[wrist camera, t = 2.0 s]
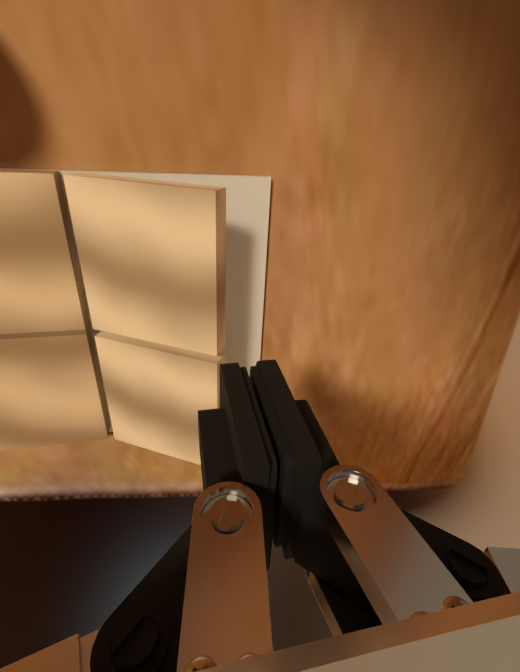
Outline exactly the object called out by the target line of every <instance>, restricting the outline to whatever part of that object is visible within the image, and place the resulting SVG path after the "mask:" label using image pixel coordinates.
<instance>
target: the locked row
mask: <svg viewBox="0 0 520 672" xmlns="http://www.w3.org/2000/svg"><path fill="white" fill-rule="evenodd" d="M109 430H110V424H109V419H108V414H107V409H106V404H105V399H104V394H103V389H102V384H101V379H100V374H99V369H98V364H97V359H96V354H95V349H94V344H93V339H92V334H91V329H90V324H89V319H88V314H87V309H86V304H85V299H84V294H83V289H82V284H81V278H80V273H79V268H78V263H77V258H76V253H75V248H74V243H73V238H72V233H71V228H70V223H69V218H68V213H67V208H66V203H65V198H64V193H63V188H62V183H61V178H60V173H59V171H42V170H6V169H0V451H3V450H11V449H20V448H29V447H37V446H46V445H55V444H63V443H72V442H81V441H89V440H98V439H107V438H108V436H109Z"/></svg>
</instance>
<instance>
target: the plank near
mask: <svg viewBox="0 0 520 672" xmlns="http://www.w3.org/2000/svg"><path fill="white" fill-rule="evenodd" d="M63 179H64V184H65V189H66V194H67V199H68V204H69V210H70V215H71V220H72V225H73V230H74V235H75V240H76V245H77V250H78V255H79V260H80V266H81V271H82V276H83V281H84V286H85V291H86V296H87V301H88V306H89V311H90V317H91V322H92V327H93V329H96V330H100V331H105V332H109V333H114V334H118V335H123V336H127V337H132V338H136V339H141V340H145V341H150V342H154V343H159V344H164V345H168V346H173V347H177V348H182V349H186V350H191V351H195V352H200V353H204V354H209V355H213V356H218V354H219V353H220V352H221V351H222V349H223V348H224V347H225V302H226V187H218V186H208V185H198V184H189V183H179V182H169V181H160V180H150V179H140V178H130V177H121V176H111V175H101V174H91V173H82V172H79V173H71V174H63Z"/></svg>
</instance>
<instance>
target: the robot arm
mask: <svg viewBox="0 0 520 672" xmlns="http://www.w3.org/2000/svg"><path fill="white" fill-rule="evenodd" d="M219 377H220V408H217V409H207V410H198V433H199V448H200V460H201V470H202V480H203V490H204V491H203V492H202V493H201V494H200V496H199V497H198V499H197V500H196V503H195V506H194V510H193V519H192V525H191V526H190V527H189V528H188V529H187V530H186V531H185V532H184V534H183V535H182V536H181V537H180V538H179V539H178V541H176V542H175V544H174V545H173V546H172V547H171V548H170V549H169V550H168V552H167V553H166V554H165V555H164V556H163V557H162V558H161V559H160V560H159V562H158V563H157V564H156V565H155V566H154V567H153V568H152V569H151V570H150V572H149V573H148V574H147V575H146V576H145V577H144V578H143V580H142V581H141V582H140V583H139V584H138V585H137V586H136V587H135V588H134V590H133V591H132V592H131V593H130V594H129V595H128V596H127V598H126V599H125V600H124V601H123V602H122V603H121V604H120V605H119V606H118V607H117V609H116V610H115V611H114V612H113V613H112V614H111V615H110V616H109V618H108V619H107V620H106V622H105V623H104V625H103V626H102V627H101V629H99V630H97V631H94V632H92V633H91V634H88V635H86V636H84V637H82V638H79V636H78V634H76V635H74V636H72V637H70V638H67V639H65V640H63V641H61V642H59V643H56V644H54V645H52V646H50V647H48V648H46V649H43V650H41V651H39V652H37V653H35V654H32V655H30V656H28V657H26V658H24V659H22V660H19V661H17V662H15V663H13V664H11V665H8V666H6V667H4V668H2V669H0V672H520V549H516V548H497V547H487V548H486V549H485V551H481V550H479V549H478V548H476V547H474V546H473V545H471V544H470V543H468V542H466V541H464V540H462V539H460V538H458V537H456V536H454V535H451V534H450V533H448V532H445V531H444V530H442V529H440V528H438V527H436V526H434V525H432V524H429V523H428V522H426V521H423V520H422V519H420V518H418V517H416V516H414V515H412V514H410V513H408V512H406V511H404V510H402V509H400V508H399V507H398V506H397V505H396V503H395V502H394V501H393V500H392V498H391V497H390V496H389V495H388V493H387V492H386V491H385V490H384V488H383V487H382V486H381V484H380V483H379V482H378V481H377V480H376V479H375V478H374V477H373V476H372V475H371V474H370V473H368V472H366V471H365V470H363V469H361V468H358V467H355V466H351V465H340V464H339V462H338V460H337V458H336V456H335V454H334V452H333V450H332V449H331V447H330V445H329V443H328V441H327V439H326V437H325V435H324V433H323V431H322V429H321V427H320V425H319V423H318V421H317V419H316V417H315V415H314V414H313V412H312V410H311V408H310V406H309V404H308V402H307V401H306V400H294V398H293V396H292V393H291V391H290V389H289V387H288V385H287V383H286V381H285V378H284V376H283V374H282V372H281V370H280V368H279V366H278V364H277V362H276V360H264V361H257V362H256V366H251V367H250V378H249V375H248V372H247V369H246V367H240V366H239V363H225V364H220V367H219ZM272 538H273V542H274V545H275V546H276V547H278V546H282V549H283V553H284V556H285V559H288V558H294V560H295V562H296V563H297V564H299V565H300V566H302V567H303V568H305V569H306V575H307V579H308V582H309V584H310V586H311V588H312V590H313V592H314V595H315V597H316V599H317V601H318V603H319V605H320V608H321V610H322V612H323V614H324V616H325V618H326V620H327V623H328V625H329V627H330V629H331V631H332V634H333V635H334V637H331V638H327V639H323V640H319V641H315V642H311V643H307V644H302V645H298V646H295V647H290V648H287V649H283V650H279V651H275V652H273V649H272V636H271V623H270V610H269V597H268V584H267V571H268V569H269V567H270V557H271V547H272Z"/></svg>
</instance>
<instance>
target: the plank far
mask: <svg viewBox="0 0 520 672" xmlns="http://www.w3.org/2000/svg"><path fill="white" fill-rule="evenodd" d="M94 337H95V342H96V347H97V352H98V357H99V362H100V368H101V373H102V378H103V383H104V388H105V393H106V398H107V403H108V408H109V413H110V419H111V424H112V429H113V434H114V439H116V440H119V441H123V442H126V443H129V444H133V445H136V446H139V447H143V448H146V449H149V450H153V451H156V452H159V453H163V454H166V455H169V456H173V457H176V458H179V459H183V460H186V461H189V462H193V463H196V464H199V465H201V460H200V448H199V433H198V410H207V409H217V408H220V377H219V367H220V364H225V353H222V352H220V353H219V354H218V356H213V355H209V354H204V353H200V352H195V351H191V350H186V349H182V348H177V347H173V346H168V345H164V344H159V343H154V342H150V341H145V340H141V339H136V338H132V337H127V336H123V335H118V334H114V333H109V332H105V331H101V332H100V333H98V334H97V335H95V336H94Z"/></svg>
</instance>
